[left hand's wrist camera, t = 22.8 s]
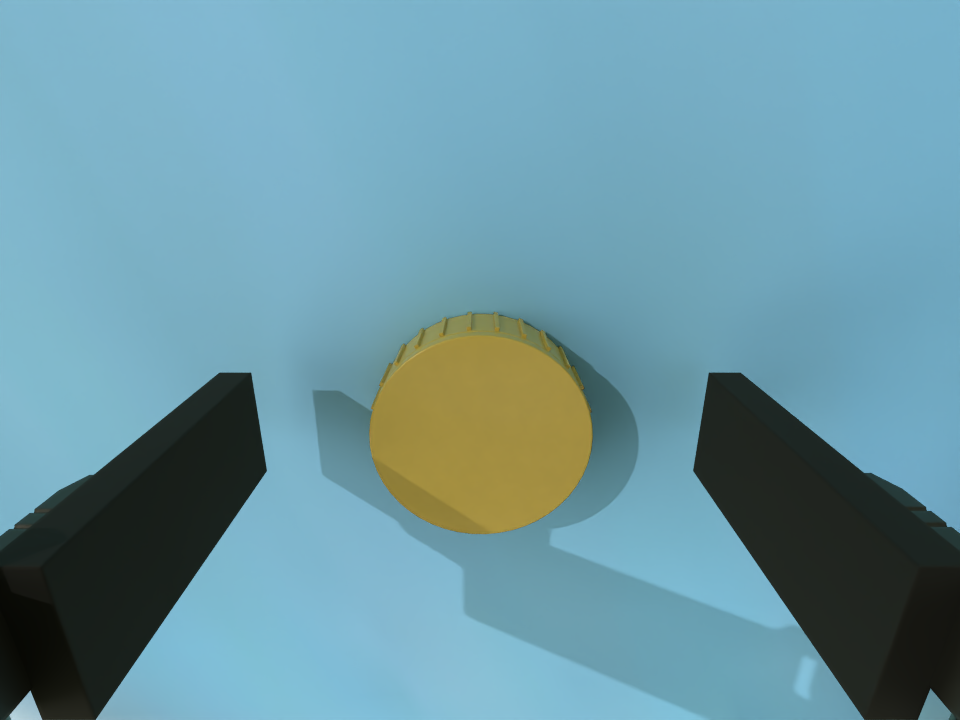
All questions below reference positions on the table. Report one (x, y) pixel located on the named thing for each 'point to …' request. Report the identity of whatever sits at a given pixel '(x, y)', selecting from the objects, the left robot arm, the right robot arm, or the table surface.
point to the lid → (480, 425)
